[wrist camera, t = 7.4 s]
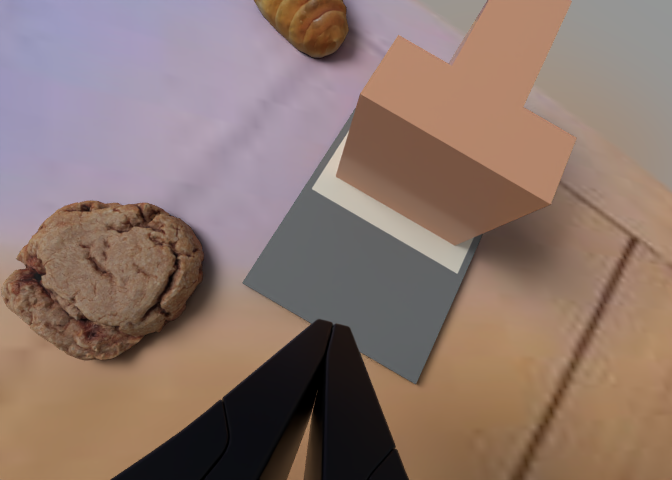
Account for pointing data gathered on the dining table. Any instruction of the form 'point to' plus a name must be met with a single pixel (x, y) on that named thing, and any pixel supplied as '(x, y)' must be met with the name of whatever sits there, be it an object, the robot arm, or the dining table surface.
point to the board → (362, 268)
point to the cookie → (104, 276)
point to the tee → (462, 126)
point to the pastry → (308, 23)
